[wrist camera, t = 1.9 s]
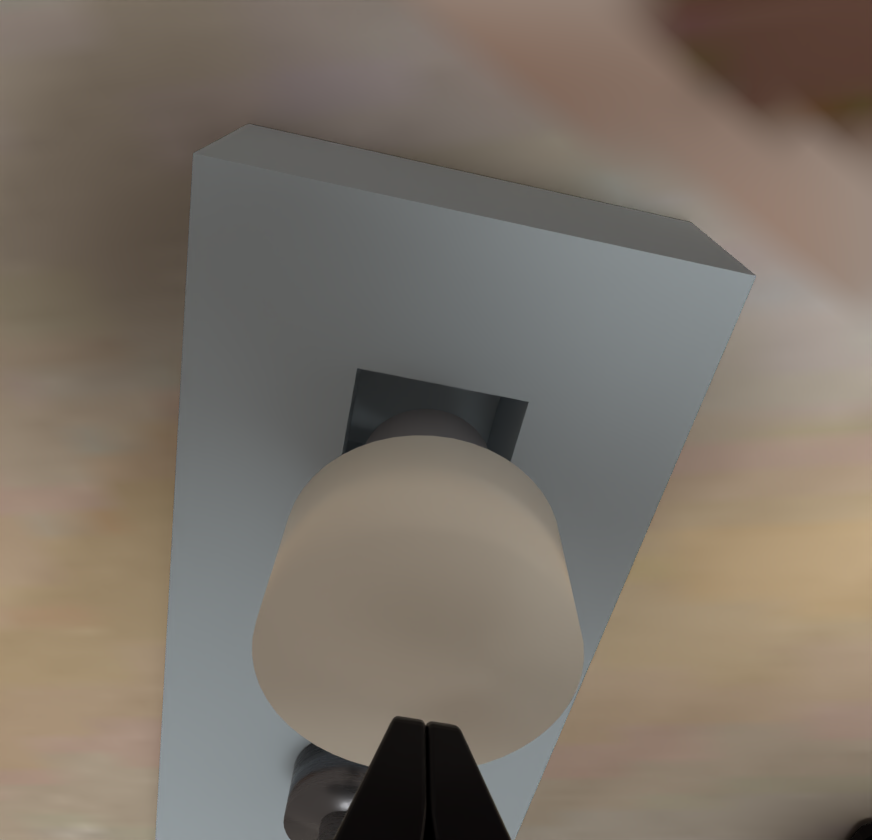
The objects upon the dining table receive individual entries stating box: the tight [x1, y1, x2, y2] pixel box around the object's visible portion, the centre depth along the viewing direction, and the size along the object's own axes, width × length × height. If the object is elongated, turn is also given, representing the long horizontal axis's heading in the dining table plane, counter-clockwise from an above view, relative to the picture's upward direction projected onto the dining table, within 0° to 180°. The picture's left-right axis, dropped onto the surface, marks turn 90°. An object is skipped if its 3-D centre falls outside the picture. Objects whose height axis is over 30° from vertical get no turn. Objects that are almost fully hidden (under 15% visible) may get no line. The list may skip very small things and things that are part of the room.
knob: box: [252, 409, 584, 766], centre depth 13 cm, size 5×5×5 cm
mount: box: [155, 124, 756, 840], centre depth 22 cm, size 10×30×4 cm, turn 168°
